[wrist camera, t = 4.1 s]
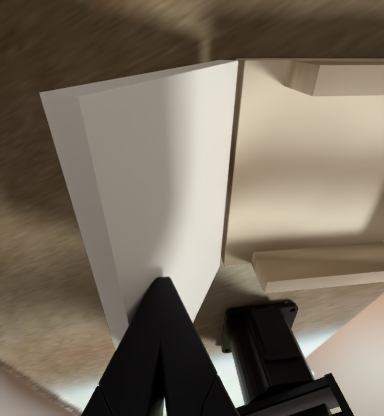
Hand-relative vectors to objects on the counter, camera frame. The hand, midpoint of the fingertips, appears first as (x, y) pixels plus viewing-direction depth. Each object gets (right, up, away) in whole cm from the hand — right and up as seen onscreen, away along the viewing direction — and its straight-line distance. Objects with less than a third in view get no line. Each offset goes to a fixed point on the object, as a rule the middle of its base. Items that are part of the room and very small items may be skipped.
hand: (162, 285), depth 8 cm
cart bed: (+9, +5, +8) cm, 13 cm away
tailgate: (+3, +4, +6) cm, 7 cm away
